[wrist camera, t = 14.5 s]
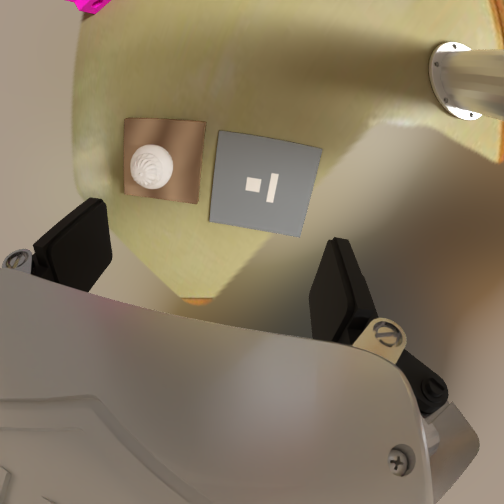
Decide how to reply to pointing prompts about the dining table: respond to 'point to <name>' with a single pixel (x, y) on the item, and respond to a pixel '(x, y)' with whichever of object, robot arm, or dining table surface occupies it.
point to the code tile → (262, 183)
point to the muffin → (151, 166)
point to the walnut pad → (180, 149)
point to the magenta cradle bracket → (90, 5)
